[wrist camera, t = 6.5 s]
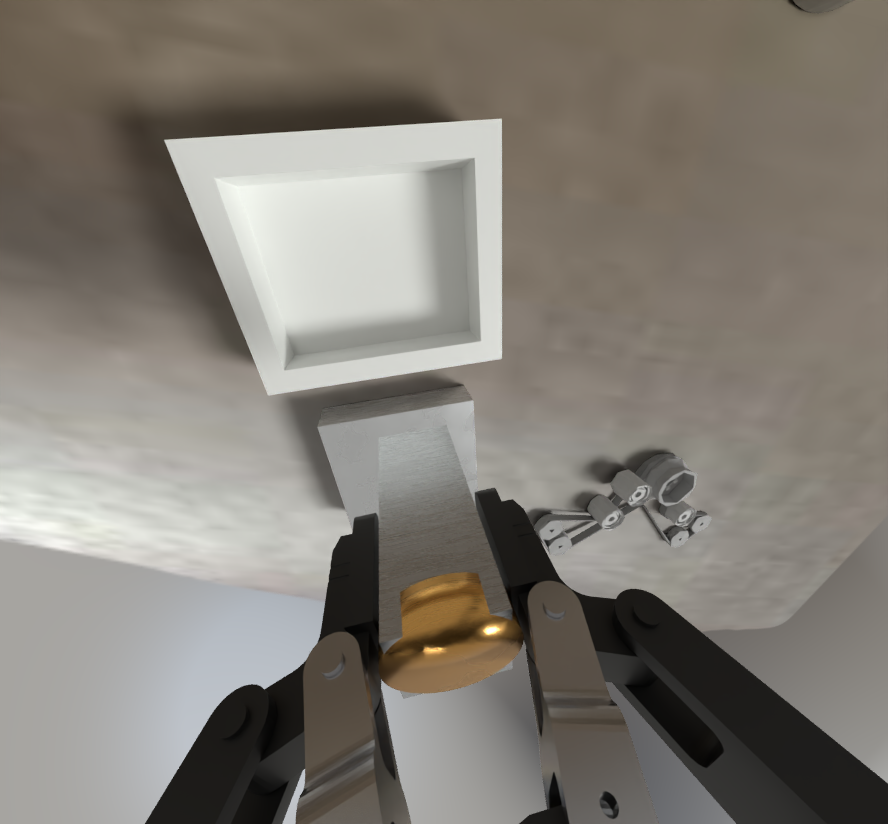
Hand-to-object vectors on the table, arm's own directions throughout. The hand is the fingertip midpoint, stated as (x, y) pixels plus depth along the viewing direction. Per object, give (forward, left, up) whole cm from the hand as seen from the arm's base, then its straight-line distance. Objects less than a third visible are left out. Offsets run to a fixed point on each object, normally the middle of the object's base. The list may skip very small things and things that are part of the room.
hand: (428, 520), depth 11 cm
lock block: (+9, -1, -16) cm, 19 cm away
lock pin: (0, 0, -4) cm, 4 cm away
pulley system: (+23, +27, -17) cm, 39 cm away
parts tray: (-7, -1, -16) cm, 18 cm away
